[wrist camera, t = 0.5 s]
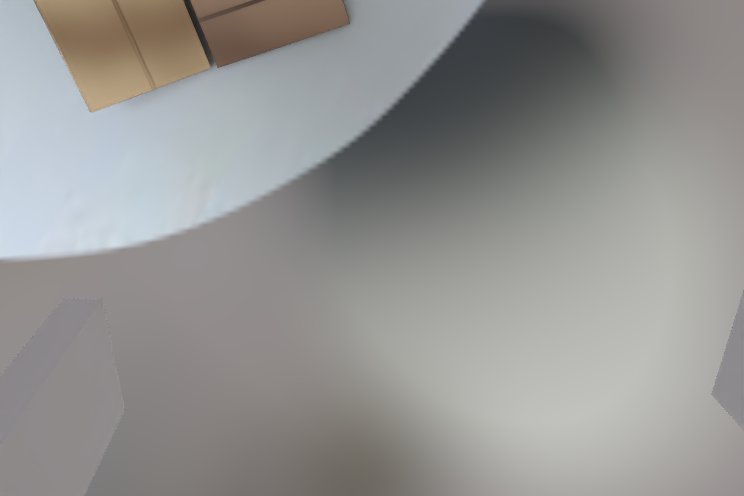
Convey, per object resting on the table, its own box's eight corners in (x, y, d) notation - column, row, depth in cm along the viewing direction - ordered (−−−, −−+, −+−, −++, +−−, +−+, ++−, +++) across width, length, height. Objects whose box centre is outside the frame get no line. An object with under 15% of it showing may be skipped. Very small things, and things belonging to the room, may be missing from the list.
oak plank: (15, -36, 28) (15, -41, 27) (147, -72, 31) (152, -77, 30) (89, 111, 31) (92, 112, 30) (205, 68, 33) (211, 68, 32)
